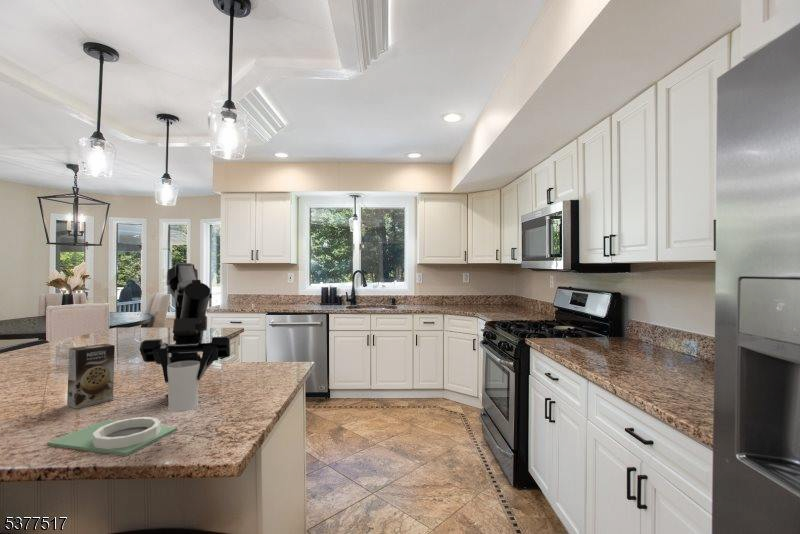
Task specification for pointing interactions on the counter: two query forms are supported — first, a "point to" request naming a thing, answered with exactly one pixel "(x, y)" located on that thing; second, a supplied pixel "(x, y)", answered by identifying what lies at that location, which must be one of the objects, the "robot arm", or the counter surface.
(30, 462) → the counter surface
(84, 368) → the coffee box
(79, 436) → the practice green
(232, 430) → the counter surface
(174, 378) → the white coffee cup
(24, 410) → the counter surface
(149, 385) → the counter surface
